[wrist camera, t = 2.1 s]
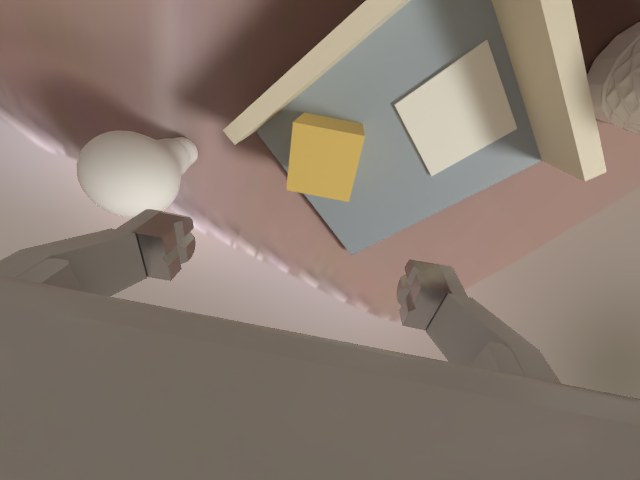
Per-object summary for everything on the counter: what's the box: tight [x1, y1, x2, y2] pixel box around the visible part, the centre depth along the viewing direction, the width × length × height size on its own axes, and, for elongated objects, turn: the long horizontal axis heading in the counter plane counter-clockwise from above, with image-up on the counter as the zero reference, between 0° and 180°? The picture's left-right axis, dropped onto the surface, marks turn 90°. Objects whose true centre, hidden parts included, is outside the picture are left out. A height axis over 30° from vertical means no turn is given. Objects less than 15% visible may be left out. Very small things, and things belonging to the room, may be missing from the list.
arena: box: [223, 0, 607, 255], centre depth 21 cm, size 17×20×6 cm
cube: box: [286, 112, 365, 202], centre depth 22 cm, size 5×5×5 cm
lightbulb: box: [77, 130, 198, 218], centre depth 22 cm, size 6×6×11 cm
